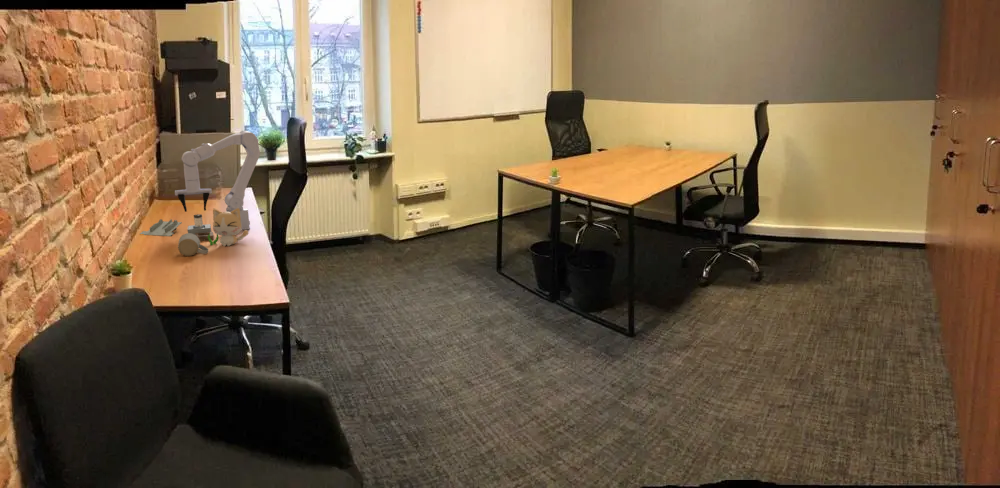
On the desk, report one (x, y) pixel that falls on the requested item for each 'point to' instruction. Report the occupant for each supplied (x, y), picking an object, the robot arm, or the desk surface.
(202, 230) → the dock
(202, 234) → the mount
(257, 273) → the desk surface
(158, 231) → the metal bracket
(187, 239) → the ceramic mug
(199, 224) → the pin
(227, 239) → the kitten
